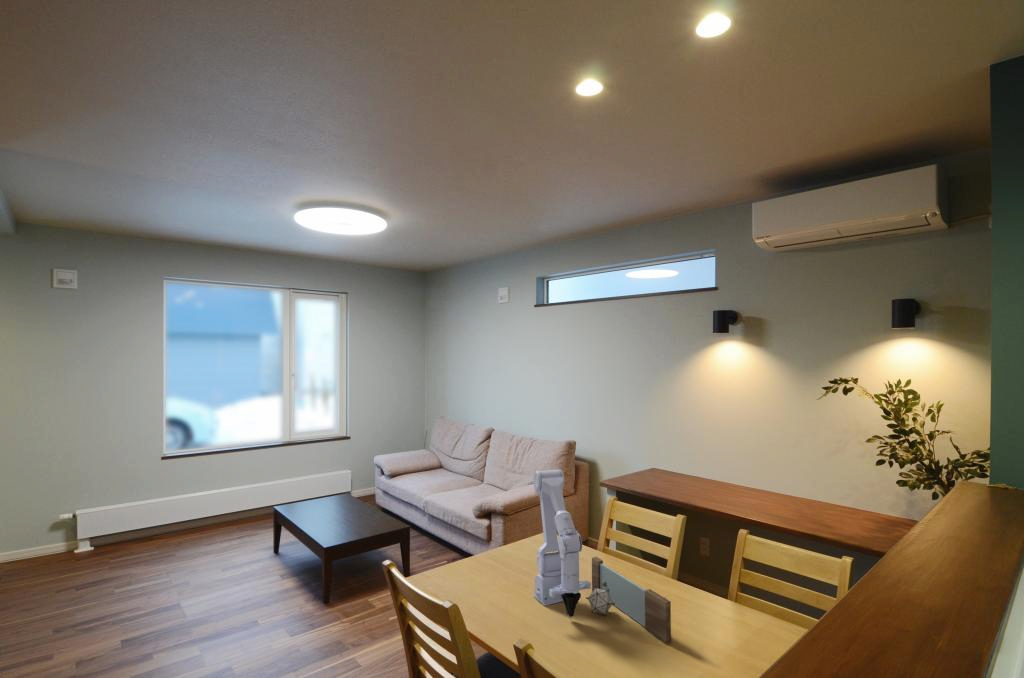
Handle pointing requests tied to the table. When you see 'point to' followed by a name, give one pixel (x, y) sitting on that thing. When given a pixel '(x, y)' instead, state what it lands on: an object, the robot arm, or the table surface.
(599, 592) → the game die
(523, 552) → the table surface
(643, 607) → the door
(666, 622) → the wall frame
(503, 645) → the table surface
